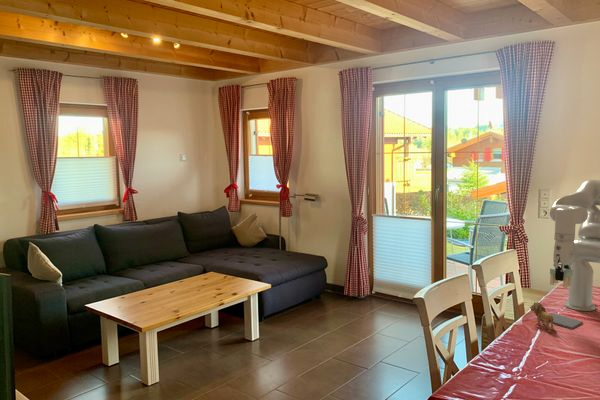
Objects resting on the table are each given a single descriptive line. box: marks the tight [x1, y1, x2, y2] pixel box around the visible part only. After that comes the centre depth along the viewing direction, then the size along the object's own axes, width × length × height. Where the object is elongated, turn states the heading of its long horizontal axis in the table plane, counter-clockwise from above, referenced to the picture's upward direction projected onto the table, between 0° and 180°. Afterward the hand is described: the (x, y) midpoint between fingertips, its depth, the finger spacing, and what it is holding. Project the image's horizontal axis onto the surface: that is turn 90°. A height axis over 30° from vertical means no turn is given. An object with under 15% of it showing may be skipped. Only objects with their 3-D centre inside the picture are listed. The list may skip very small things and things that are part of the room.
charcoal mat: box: [540, 312, 584, 330], centre depth 206 cm, size 10×14×1 cm
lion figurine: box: [529, 301, 558, 334], centre depth 200 cm, size 15×5×9 cm, turn 11°
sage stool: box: [549, 266, 573, 289], centre depth 205 cm, size 7×5×7 cm
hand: (562, 278), depth 204 cm, fingers closed on sage stool, 5 cm apart
